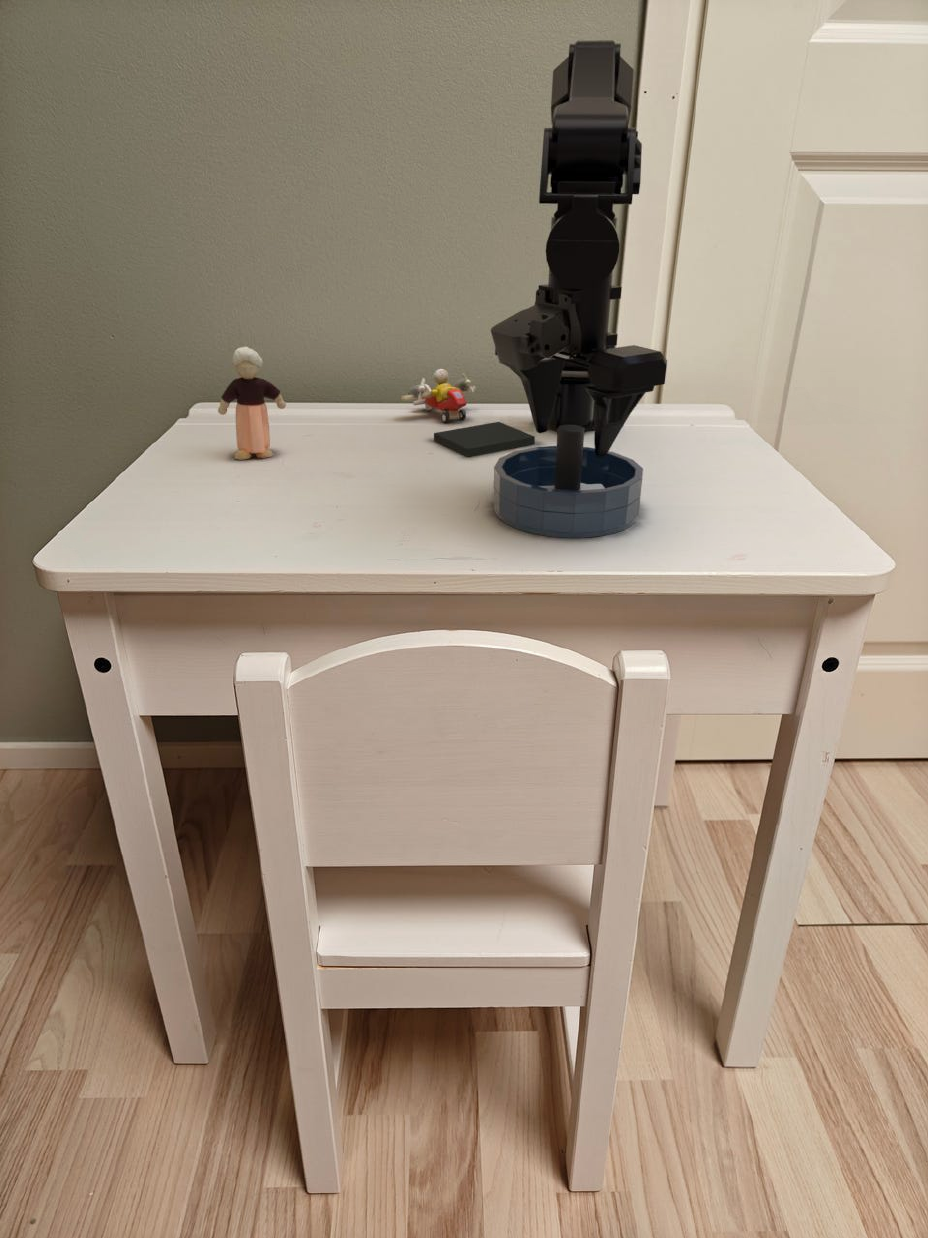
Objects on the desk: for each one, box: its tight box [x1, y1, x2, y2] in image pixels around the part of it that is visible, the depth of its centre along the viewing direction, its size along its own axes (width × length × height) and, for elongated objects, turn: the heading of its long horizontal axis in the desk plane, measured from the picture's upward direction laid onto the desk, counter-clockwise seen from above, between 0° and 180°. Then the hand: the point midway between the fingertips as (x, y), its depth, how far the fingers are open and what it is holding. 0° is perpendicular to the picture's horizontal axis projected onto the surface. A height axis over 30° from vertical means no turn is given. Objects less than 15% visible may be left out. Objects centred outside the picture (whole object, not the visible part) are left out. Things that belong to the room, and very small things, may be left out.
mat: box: [433, 421, 536, 458], centre depth 108 cm, size 10×8×1 cm
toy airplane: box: [400, 368, 477, 423], centre depth 118 cm, size 9×9×6 cm
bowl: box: [492, 445, 644, 539], centre depth 87 cm, size 15×15×4 cm
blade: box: [538, 425, 604, 491], centre depth 86 cm, size 8×5×8 cm, turn 123°
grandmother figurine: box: [217, 346, 287, 461], centre depth 101 cm, size 8×4×13 cm, turn 117°
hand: (569, 443), depth 85 cm, fingers open, 9 cm apart
